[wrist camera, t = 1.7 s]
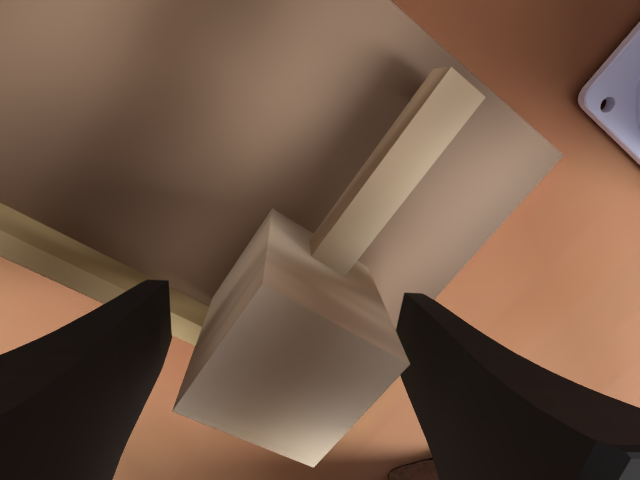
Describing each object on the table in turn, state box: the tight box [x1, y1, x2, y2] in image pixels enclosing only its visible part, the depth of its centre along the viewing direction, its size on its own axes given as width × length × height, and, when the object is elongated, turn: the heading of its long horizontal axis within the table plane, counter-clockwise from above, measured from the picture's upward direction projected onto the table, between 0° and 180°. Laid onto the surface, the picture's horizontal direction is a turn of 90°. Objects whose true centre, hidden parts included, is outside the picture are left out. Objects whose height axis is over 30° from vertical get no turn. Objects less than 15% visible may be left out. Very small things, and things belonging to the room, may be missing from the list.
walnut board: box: [0, 0, 563, 346], centre depth 11 cm, size 22×12×4 cm, turn 55°
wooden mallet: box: [172, 67, 485, 468], centre depth 10 cm, size 4×10×5 cm, turn 145°
